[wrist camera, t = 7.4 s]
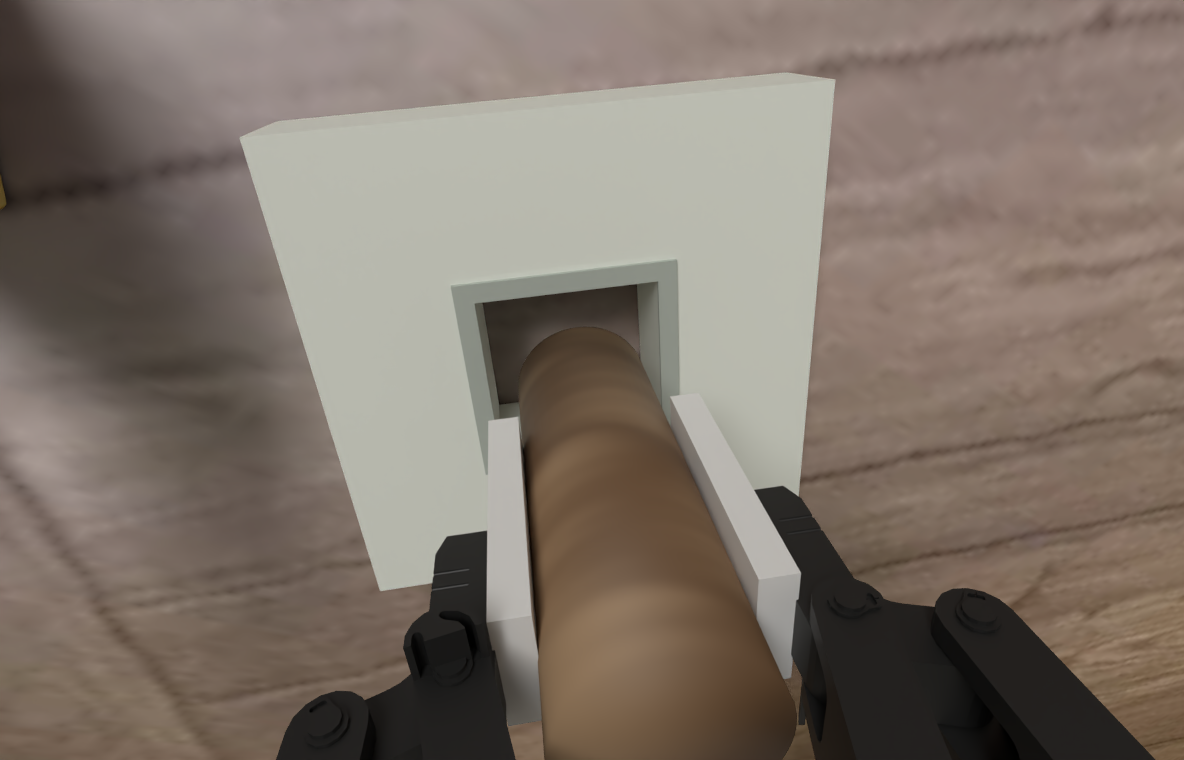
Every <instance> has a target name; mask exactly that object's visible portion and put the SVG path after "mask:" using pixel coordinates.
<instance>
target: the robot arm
mask: <svg viewBox="0 0 1184 760" xmlns="http://www.w3.org/2000/svg"><path fill="white" fill-rule="evenodd" d="M670 414H671V429H672V431H673V434H674V436H675V438H676V440H677V443H678V445H679V447H680V449H681V451H682V454H683V456H684V458H685V460H686V463H687V465H688V467H689V469H690V472H691V474H692V476H693V478H694V480H695V483H696V485H697V487H698V489H699V492H700V494H701V496H702V498H703V501H704V503H705V505H706V507H707V509H708V512H709V514H710V516H711V518H712V521H713V523H714V525H715V527H716V530H717V532H718V534H719V536H720V539H721V541H722V543H723V545H724V547H725V550H726V552H727V554H728V556H729V559H730V561H731V563H732V565H733V568H734V570H735V572H736V574H737V576H738V579H739V581H740V583H741V585H742V588H743V590H744V592H745V594H746V597H747V599H748V601H749V603H750V605H751V608H752V610H753V612H754V614H755V617H756V619H757V621H758V623H759V626H760V628H761V630H762V632H763V634H764V637H765V639H766V641H767V643H768V646H769V648H770V650H771V652H772V655H773V657H774V659H775V661H776V663H777V666H778V668H779V670H780V672H781V675H782V677H783V679H787V678H791V672H792V662H793V659H794V662H795V664H796V666H797V668H798V670H799V672H800V674H801V676H802V687H801V696H800V706H799V725H805V717H806V720H807V724H808V729H809V733H810V737H811V742H812V746H813V750H814V755H815V759H816V760H1155V759H1154V758H1153V757H1152V756H1151V755H1150V754H1149V752H1148V751H1147V750H1146V749H1145V748H1144V747H1143V746H1142V745H1141V744H1140V743H1139V742H1138V741H1137V740H1136V739H1135V738H1134V737H1133V736H1132V735H1131V734H1130V733H1129V732H1128V730H1127V729H1126V728H1125V727H1124V726H1123V725H1122V724H1121V723H1120V722H1119V721H1118V720H1117V719H1116V718H1115V717H1114V716H1113V715H1112V714H1111V713H1110V712H1109V711H1108V710H1107V708H1106V707H1105V706H1104V705H1103V704H1102V703H1101V702H1100V701H1099V700H1098V699H1097V698H1096V697H1095V696H1094V695H1093V694H1092V693H1091V692H1090V691H1089V690H1088V689H1087V687H1086V686H1085V685H1084V684H1083V683H1082V682H1081V681H1080V680H1079V679H1078V678H1077V677H1076V676H1075V675H1074V674H1073V673H1072V672H1071V671H1070V670H1069V669H1068V668H1067V667H1066V665H1065V664H1064V663H1063V662H1062V661H1061V660H1060V659H1059V658H1058V657H1057V656H1056V655H1055V654H1054V653H1053V652H1052V651H1051V650H1050V649H1049V648H1048V647H1047V646H1046V645H1045V643H1044V642H1043V641H1042V640H1041V639H1040V638H1039V637H1038V636H1037V635H1036V634H1035V633H1034V632H1033V631H1032V630H1031V629H1030V628H1029V627H1028V626H1027V625H1026V624H1025V622H1024V621H1023V620H1022V619H1021V618H1020V617H1019V616H1018V615H1017V614H1016V613H1015V612H1014V611H1013V610H1012V609H1011V608H1010V607H1008V606H1007V605H1006V604H1005V603H1003V602H1002V601H1001V600H1000V599H998V598H996V597H993V596H991V595H989V594H987V593H985V592H982V591H978V590H973V589H969V588H961V589H951V590H949V591H947V592H944V593H942V594H941V595H940V597H939V598H938V599H937V601H936V604H935V607H930V606H920V605H910V604H902V603H896V602H891V601H888V600H885V599H884V598H883V597H882V595H881V594H880V593H879V592H878V591H877V590H875V589H874V588H873V587H871V586H870V585H869V584H866V583H864V582H861V581H859V580H856V579H854V578H853V576H852V575H851V573H850V572H849V570H848V569H847V567H846V566H845V564H844V563H843V561H842V559H841V558H840V556H839V555H838V553H837V552H836V550H835V549H834V547H833V546H832V544H831V543H830V541H829V540H828V538H827V537H826V535H825V534H824V532H823V531H821V529H820V526H819V525H818V523H817V522H816V520H815V518H812V514H811V512H810V511H809V509H808V508H807V506H806V505H805V503H804V502H803V500H802V499H801V498H800V497H799V496H797V495H796V494H794V493H793V492H792V491H790V490H789V489H787V488H786V487H784V486H777V487H770V488H763V489H756V490H754V489H753V488H752V486H751V484H750V482H749V480H748V479H747V477H746V475H745V473H744V472H743V470H742V468H741V466H740V465H739V463H738V461H737V459H736V458H735V456H734V454H733V452H732V451H731V449H730V447H729V445H728V444H727V442H726V440H725V438H724V436H723V435H722V433H721V431H720V429H719V428H718V426H717V424H716V422H715V421H714V419H713V417H712V415H711V414H710V412H709V410H708V408H707V407H706V405H705V403H704V401H703V399H702V398H701V396H700V394H699V393H692V394H685V395H677V396H670ZM433 574H434V577H433V581H432V592H431V599H430V609H429V612H426V613H424V614H423V615H422V616H421V617H419V618H418V619H417V620H416V621H415V622H414V623H412V625H411V627H410V628H409V630H408V631H407V633H406V635H405V639H404V646H403V649H404V652H405V655H406V659H407V662H408V665H409V668H410V672H411V674H410V675H409V676H408V677H407V678H406V679H405V680H403V681H402V682H401V683H399V684H398V685H396V686H394V687H392V688H391V689H389V690H387V691H384V692H382V693H380V694H378V695H376V696H373V697H371V698H369V699H367V700H365V701H364V699H363V698H362V697H361V696H359V695H357V694H355V693H353V692H351V691H335V692H331V693H328V694H324V695H321V696H319V697H318V698H316V699H314V700H313V701H311V702H309V703H308V704H306V705H305V706H304V707H303V708H302V709H301V710H300V711H299V712H298V713H297V714H296V715H295V716H294V717H293V719H292V721H291V723H290V725H289V726H288V728H287V730H286V732H285V735H284V738H283V741H282V744H281V747H280V750H279V753H278V756H277V759H276V760H516V759H515V755H514V751H513V747H512V743H511V739H510V735H509V732H508V728H507V721H508V726H512V725H518V724H524V723H530V722H535V721H541V720H542V716H541V702H540V688H539V674H538V644H537V630H536V617H535V603H534V590H533V576H532V562H531V549H530V535H529V522H528V508H527V495H526V481H525V467H524V454H523V445H522V439H521V432H520V425H519V419H518V417H512V418H505V419H497V420H490V421H488V512H487V531H480V532H473V533H467V534H460V535H453V536H447V537H446V538H445V540H444V542H443V543H442V545H441V546H440V548H439V549H438V551H437V553H436V554H435V563H434V572H433ZM506 717H507V720H506Z"/></svg>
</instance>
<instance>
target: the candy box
mask: <svg viewBox="0 0 1184 760" xmlns="http://www.w3.org/2000/svg"><path fill="white" fill-rule="evenodd" d="M5 206H6V198H5V192H4V189H3V185H2V179H1V175H0V210H1V209H3V208H4V207H5Z"/></svg>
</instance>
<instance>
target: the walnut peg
mask: <svg viewBox="0 0 1184 760" xmlns="http://www.w3.org/2000/svg"><path fill="white" fill-rule="evenodd" d="M518 395H519V409H520V423H521V437H522V445H523V454H524V467H525V481H526V495H527V508H528V522H529V535H530V549H531V562H532V576H533V590H534V603H535V617H536V630H537V644H538V674H539V688H540V702H541V716H542V730H543V744H544V758H545V760H782V759H783V757H784V756H785V754H786V752H787V751H788V749H789V747H790V745H791V743H792V740H793V738H794V735H795V730H796V725H797V713H796V708H795V704H794V702H793V699H792V697H791V695H790V693H789V690H788V688H787V686H786V684H785V681H784V679H783V677H782V675H781V672H780V670H779V668H778V666H777V663H776V661H775V659H774V657H773V655H772V652H771V650H770V648H769V646H768V643H767V641H766V639H765V637H764V634H763V632H762V630H761V628H760V626H759V623H758V621H757V619H756V617H755V614H754V612H753V610H752V608H751V605H750V603H749V601H748V599H747V597H746V594H745V592H744V590H743V588H742V585H741V583H740V581H739V579H738V576H737V574H736V572H735V570H734V568H733V565H732V563H731V561H730V559H729V556H728V554H727V552H726V550H725V547H724V545H723V543H722V541H721V539H720V536H719V534H718V532H717V530H716V527H715V525H714V523H713V521H712V518H711V516H710V514H709V512H708V509H707V507H706V505H705V503H704V501H703V498H702V496H701V494H700V492H699V489H698V487H697V485H696V483H695V480H694V478H693V476H692V474H691V472H690V469H689V467H688V465H687V463H686V460H685V458H684V456H683V454H682V451H681V449H680V447H679V445H678V443H677V440H676V438H675V436H674V434H673V431H672V429H671V427H670V425H669V422H668V420H667V418H666V416H665V414H664V411H663V409H662V407H661V405H660V402H659V400H658V398H657V396H656V393H655V391H654V389H653V387H652V384H651V382H650V380H649V378H648V376H647V373H646V371H645V369H644V367H643V364H642V362H641V360H640V358H639V356H638V354H637V353H636V351H635V350H634V348H633V347H632V346H631V345H630V344H629V343H628V342H627V341H626V340H624V339H623V338H621V337H620V336H618V335H617V334H614V333H612V332H610V331H607V330H604V329H600V328H595V327H576V328H570V329H566V330H563V331H560V332H557V333H555V334H553V335H551V336H549V337H548V338H546V339H544V340H543V341H542V342H541V343H539V344H538V345H537V346H536V347H535V348H534V349H533V350H532V351H531V353H530V354H529V355H528V357H527V358H526V360H525V362H524V363H523V366H522V368H521V371H520V375H519V379H518Z"/></svg>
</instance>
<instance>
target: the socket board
mask: <svg viewBox="0 0 1184 760" xmlns="http://www.w3.org/2000/svg"><path fill="white" fill-rule="evenodd" d="M834 88H835V79H828V78H821V77H814V76H807V75H800V74H793V73H786V72H785V73H775V74H765V75H754V76H744V77H733V78H723V79H712V80H702V81H691V82H681V83H671V84H660V85H650V86H639V87H629V88H618V89H608V90H597V91H587V92H576V93H566V94H556V95H545V96H535V97H524V98H514V99H503V100H493V101H482V102H472V103H462V104H451V105H441V106H430V107H420V108H409V109H399V110H388V111H378V112H367V113H357V114H347V115H336V116H326V117H315V118H305V119H294V120H284V121H276V122H274V123H272V124H269V125H267V126H265V127H263V128H260V129H258V130H256V131H253V132H251V133H249V134H246V135H244V136H242V137H239V138H240V141H241V144H242V147H243V150H244V154H245V157H246V160H247V163H248V167H249V170H250V173H251V176H252V179H253V183H254V186H255V189H256V192H257V196H258V199H259V202H260V205H261V208H262V212H263V215H264V218H265V221H266V225H267V228H268V231H269V234H270V238H271V241H272V244H273V247H274V250H275V254H276V257H277V260H278V263H279V267H280V270H281V273H282V276H283V279H284V283H285V286H286V289H287V292H288V296H289V299H290V302H291V305H292V308H293V312H294V315H295V318H296V321H297V325H298V328H299V331H300V334H301V337H302V341H303V344H304V347H305V350H306V354H307V357H308V360H309V363H310V366H311V370H312V373H313V376H314V379H315V383H316V386H317V389H318V392H319V395H320V399H321V402H322V405H323V408H324V412H325V415H326V418H327V421H328V424H329V428H330V431H331V434H332V437H333V441H334V444H335V447H336V450H337V453H338V457H339V460H340V463H341V466H342V470H343V473H344V476H345V479H346V482H347V486H348V489H349V492H350V495H351V499H352V502H353V505H354V508H355V512H356V515H357V518H358V521H359V524H360V528H361V531H362V534H363V537H364V541H365V544H366V547H367V550H368V553H369V557H370V560H371V563H372V566H373V570H374V573H375V576H376V579H377V582H378V586H379V589H380V591H384V590H390V589H397V588H403V587H409V586H416V585H422V584H429V583H432V581H433V577H434V574H433V572H434V563H435V554H436V553H437V551H438V549H439V548H440V546H441V545H442V543H443V542H444V540H445V538H446V537H447V536H453V535H460V534H467V533H473V532H480V531H487V512H488V421H490V420H497V419H505V418H512V417H518V419H519V425H520V432H521V423H520V409H519V402H516V403H509V404H501V405H499V400H498V394H497V388H496V382H495V376H494V370H493V364H492V357H491V351H490V345H489V339H488V333H487V327H486V321H485V315H484V309H483V303H484V302H492V301H500V300H508V299H517V298H525V297H533V296H541V295H550V294H558V293H566V292H574V291H583V290H591V289H599V288H607V287H616V286H624V285H632V284H637V297H638V318H639V339H640V360H641V362H642V364H643V367H644V369H645V371H646V373H647V376H648V378H649V380H650V382H651V384H652V387H653V389H654V391H655V393H656V396H657V398H658V400H659V402H660V405H661V407H662V409H663V411H664V414H665V416H666V418H667V420H668V422H669V425H670V427H671V414H670V396H677V395H685V394H692V393H699V394H700V396H701V398H702V399H703V401H704V403H705V405H706V407H707V408H708V410H709V412H710V414H711V415H712V417H713V419H714V421H715V422H716V424H717V426H718V428H719V429H720V431H721V433H722V435H723V436H724V438H725V440H726V442H727V444H728V445H729V447H730V449H731V451H732V452H733V454H734V456H735V458H736V459H737V461H738V463H739V465H740V466H741V468H742V470H743V472H744V473H745V475H746V477H747V479H748V480H749V482H750V484H751V486H752V488H753V489H754V490H756V489H763V488H770V487H777V486H784V487H786V488H787V489H789V490H790V491H792V492H793V493H794V494H796V495H797V496H799V485H800V474H801V463H802V451H803V440H804V428H805V417H806V406H807V394H808V383H809V372H810V360H811V349H812V338H813V326H814V315H815V303H816V292H817V281H818V269H819V258H820V247H821V235H822V224H823V213H824V201H825V190H826V178H827V167H828V156H829V144H830V133H831V122H832V110H833V99H834ZM521 439H522V437H521Z"/></svg>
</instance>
